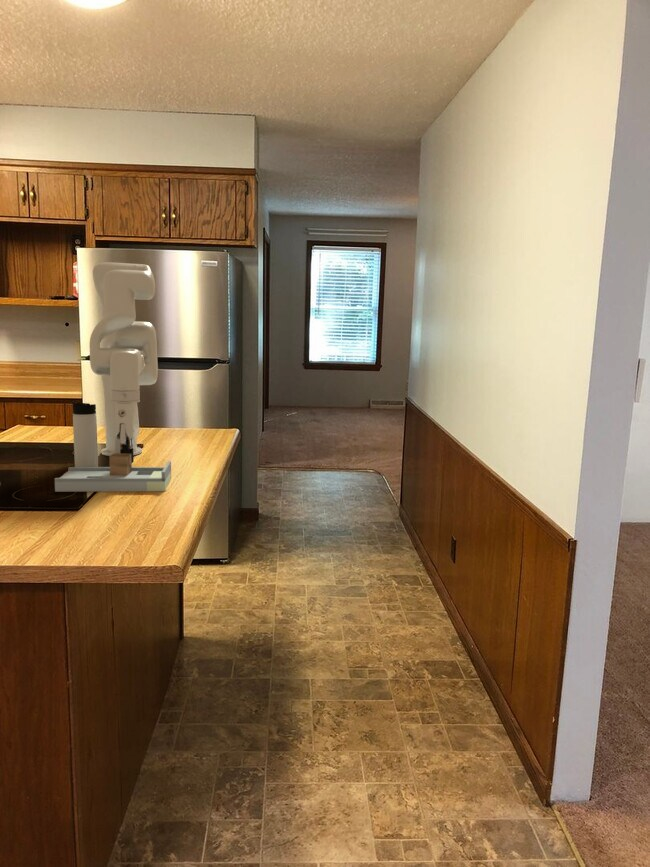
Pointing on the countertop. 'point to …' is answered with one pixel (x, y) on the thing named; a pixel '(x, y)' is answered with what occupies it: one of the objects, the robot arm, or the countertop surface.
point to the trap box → (114, 479)
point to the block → (120, 464)
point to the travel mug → (85, 435)
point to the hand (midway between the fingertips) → (127, 462)
